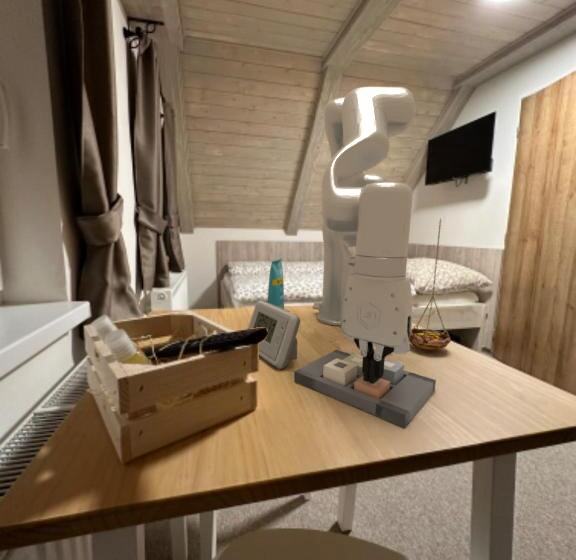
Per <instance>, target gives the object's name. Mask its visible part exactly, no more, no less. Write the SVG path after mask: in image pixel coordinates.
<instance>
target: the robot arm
mask: <svg viewBox="0 0 576 560" xmlns="http://www.w3.org/2000/svg"><path fill="white" fill-rule="evenodd" d="M415 111H416V104H415V98H414V95H413V94H412V92H411V91H410V89H408V88H406V87H403V86H372V85H371V86H360V87H357V88H354V89H352V90H351V91H349V92H348V93H347V94H346V95H345V96H343V97H342V96H341V97H337V98H334V99H332V100H329V101H328V102H327V103H326V105H325V107H324V115H323V116H324V119H323V121H324V130H325V135H326V139H327V142H328V147H329V149H330V157H331V159H330V161H329V162H328V163H327V165H326V167H325V170H324V172H323V176H322V182H321V216H322V224H321V225H322V226H321V231H322V233H321V234H322V241H323V242H322V243H323V276H322V278H323V281H322V299H321V300H322V301H321V302H319V301H314V302H313V305H312V306H311V307H312V310H317V311H318V313H317V314H316V320H317V321H318V322H320V323H322V324H325V325H331V326H340V330H341V332H342V333H343V336H344V338H346V339H348V340H349V341H351V342H353V343H354V344H355V345H356V347H357V348H358V350H359V355H360V356H361V357H363V364H362V372H363V373H364V376H363V380H364V381H366V382H367V381H369V382H370V383H372V384H374V383H375V382H376V381H377V380H379V379H380V378H382V376H383V373H384V361H385V359H386V357H388V356H389V355H391V354H401V355H402V354H403V355H405V354H407V353H408V352H410V351H411V347H410V346H411V345H410V342H409V338H410V336H411V330H412V329H413V328H412V327H413V296H412V286H411V279H410V278H408V277H406V276H407V264H408V253H409V242H410V229H411V220H412V219H411V217H412V207H413V190H412V188H411V186H410V185H408V184H406V183H403V182H398V181H397V182H393V181H390V182H389V180H388V178H387V177H386V176H385V175H384V174H382V173H377V172H364V171H367V170H369V169H371V168H372V169H373V168H375V167H376V166H378V165H379V164H380V163H381V162H383V161H384V159H386V157H387V155H388V153H389V150H390V140H389V137H395V136H399V135H402V134H404V133H406V132H407V131H408V130H409V128H410V127H411V126H412V124H413V121H414V117H415ZM353 247H354V248H355V254H354V255H353V254H352V252H351V251H350V249H349V248H353Z"/></svg>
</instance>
